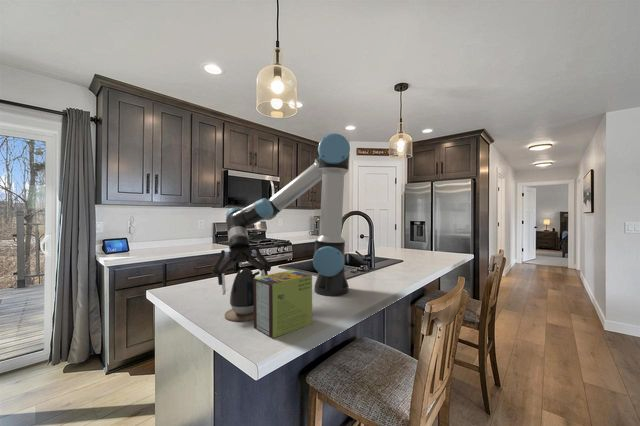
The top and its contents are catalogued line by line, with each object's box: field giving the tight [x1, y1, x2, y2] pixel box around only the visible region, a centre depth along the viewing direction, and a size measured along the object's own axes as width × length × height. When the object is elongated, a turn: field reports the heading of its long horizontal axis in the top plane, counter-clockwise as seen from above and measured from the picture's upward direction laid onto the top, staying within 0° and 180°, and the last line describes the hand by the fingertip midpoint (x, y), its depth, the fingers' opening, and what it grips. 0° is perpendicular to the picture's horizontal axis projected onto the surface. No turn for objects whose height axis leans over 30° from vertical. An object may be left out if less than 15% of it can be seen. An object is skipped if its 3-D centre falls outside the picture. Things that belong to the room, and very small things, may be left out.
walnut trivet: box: [224, 308, 254, 323], centre depth 95 cm, size 13×13×1 cm
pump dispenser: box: [229, 267, 261, 315], centre depth 96 cm, size 10×10×15 cm
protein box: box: [253, 269, 313, 339], centre depth 86 cm, size 10×15×16 cm
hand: (245, 290), depth 93 cm, fingers open, 13 cm apart
